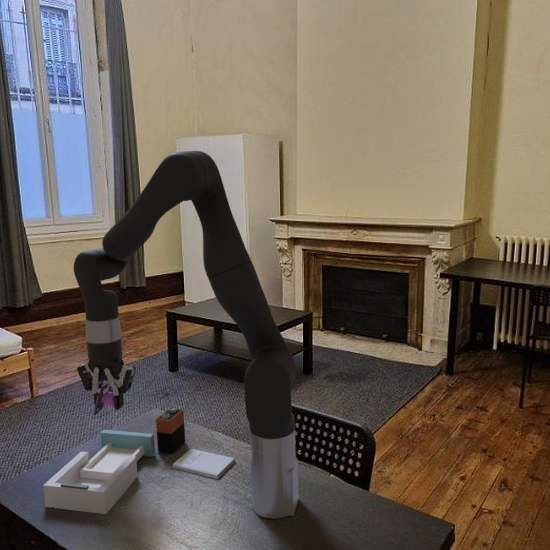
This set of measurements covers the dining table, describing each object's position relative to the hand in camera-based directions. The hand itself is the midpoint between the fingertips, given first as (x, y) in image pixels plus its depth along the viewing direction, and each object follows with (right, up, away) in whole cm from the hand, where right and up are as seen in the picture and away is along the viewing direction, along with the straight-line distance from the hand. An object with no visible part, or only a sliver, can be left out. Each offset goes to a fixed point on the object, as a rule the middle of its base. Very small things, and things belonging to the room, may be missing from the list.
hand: (109, 407), depth 120 cm
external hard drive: (+21, -15, +4) cm, 27 cm away
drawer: (0, -15, +4) cm, 15 cm away
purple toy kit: (0, -1, +1) cm, 2 cm away
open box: (-2, -17, -6) cm, 18 cm away
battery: (+12, -14, +13) cm, 22 cm away
